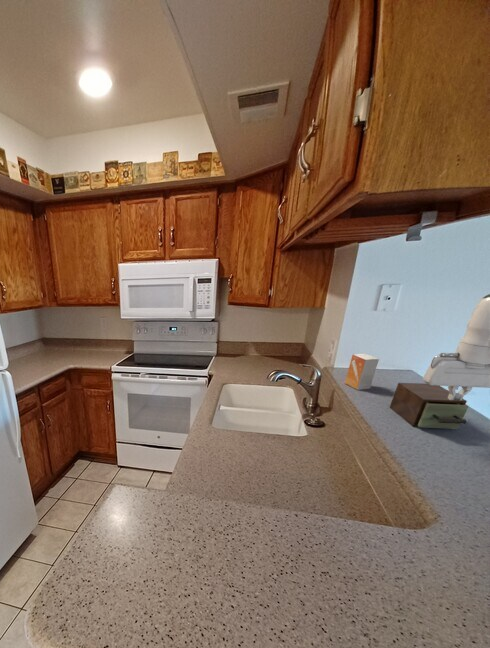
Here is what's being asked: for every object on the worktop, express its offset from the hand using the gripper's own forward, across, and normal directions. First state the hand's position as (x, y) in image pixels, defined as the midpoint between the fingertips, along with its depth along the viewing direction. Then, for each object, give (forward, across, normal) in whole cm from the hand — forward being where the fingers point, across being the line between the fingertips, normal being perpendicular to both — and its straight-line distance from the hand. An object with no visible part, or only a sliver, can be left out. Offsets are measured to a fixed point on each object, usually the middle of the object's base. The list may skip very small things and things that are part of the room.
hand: (454, 399), depth 98 cm
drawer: (+10, 0, +6) cm, 12 cm away
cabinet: (+11, 0, +11) cm, 16 cm away
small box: (+12, -9, +41) cm, 44 cm away
